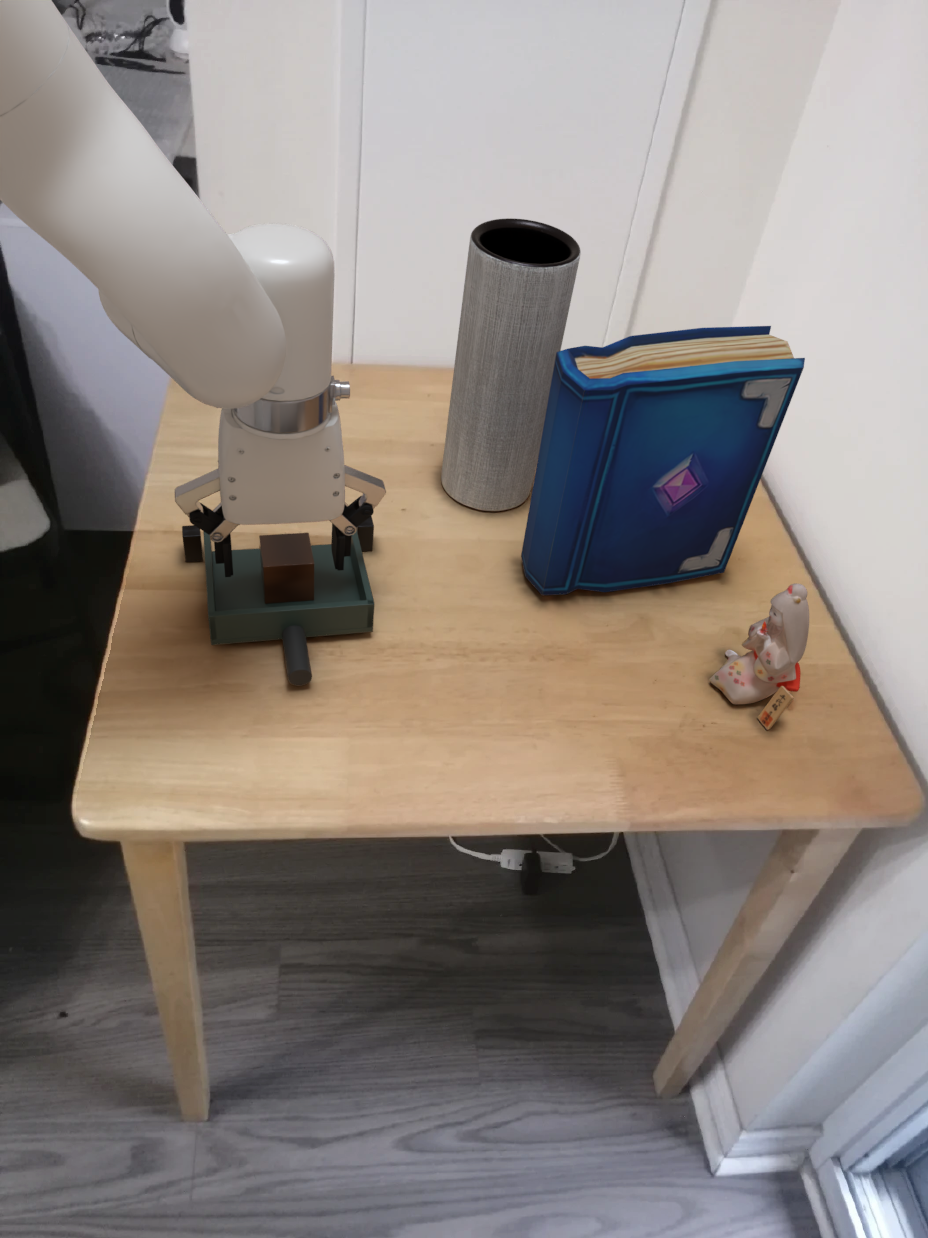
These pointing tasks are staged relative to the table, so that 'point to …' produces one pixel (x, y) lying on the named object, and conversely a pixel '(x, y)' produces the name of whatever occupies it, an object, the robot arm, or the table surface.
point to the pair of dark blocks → (194, 543)
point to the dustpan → (288, 604)
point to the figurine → (769, 657)
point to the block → (287, 567)
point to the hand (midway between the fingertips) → (283, 563)
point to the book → (653, 456)
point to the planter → (506, 359)
